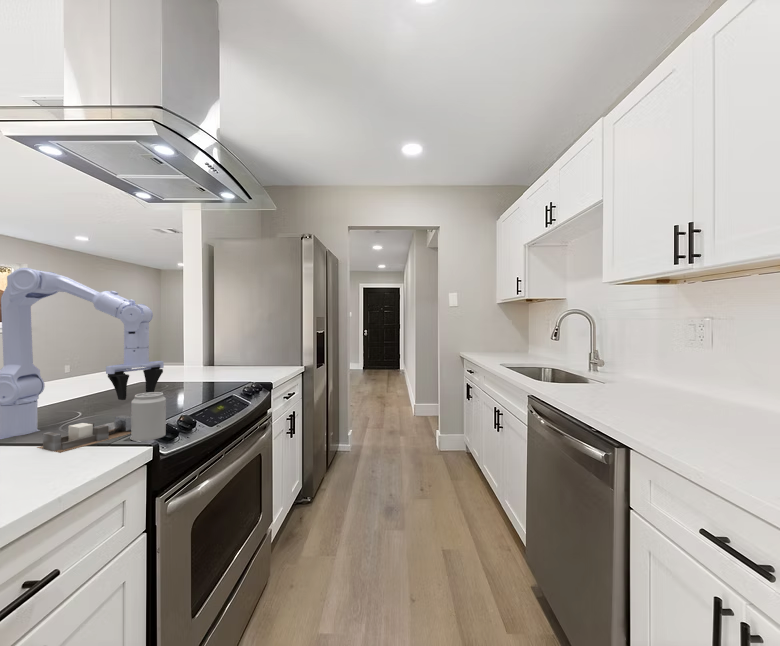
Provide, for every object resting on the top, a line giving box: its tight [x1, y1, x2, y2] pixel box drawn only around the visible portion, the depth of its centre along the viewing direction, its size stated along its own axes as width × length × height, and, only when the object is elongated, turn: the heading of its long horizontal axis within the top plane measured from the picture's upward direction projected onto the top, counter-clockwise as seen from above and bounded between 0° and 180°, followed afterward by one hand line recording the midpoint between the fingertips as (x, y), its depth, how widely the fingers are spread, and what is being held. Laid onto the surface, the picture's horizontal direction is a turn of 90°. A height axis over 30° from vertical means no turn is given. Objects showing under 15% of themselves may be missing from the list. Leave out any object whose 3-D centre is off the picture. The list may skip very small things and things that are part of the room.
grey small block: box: [94, 415, 131, 433], centre depth 97 cm, size 4×8×3 cm, turn 159°
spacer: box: [67, 422, 93, 441], centre depth 91 cm, size 4×3×4 cm
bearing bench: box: [36, 422, 131, 454], centre depth 92 cm, size 9×16×4 cm, turn 159°
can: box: [130, 391, 167, 442], centre depth 95 cm, size 8×8×12 cm
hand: (136, 396), depth 103 cm, fingers open, 7 cm apart
